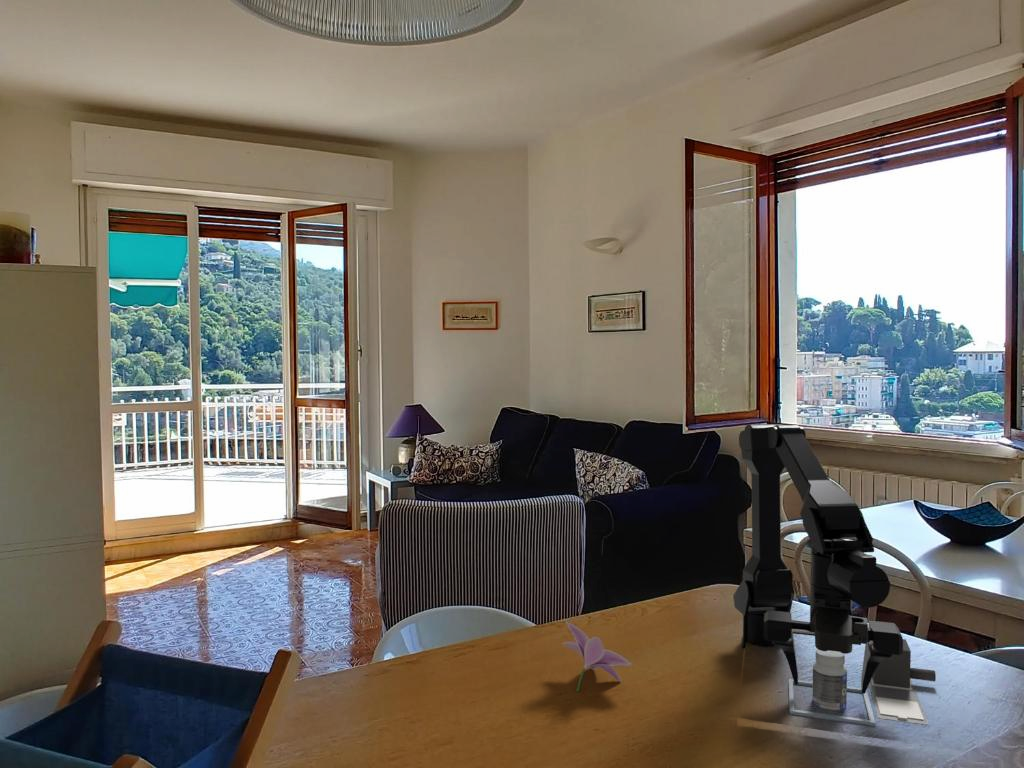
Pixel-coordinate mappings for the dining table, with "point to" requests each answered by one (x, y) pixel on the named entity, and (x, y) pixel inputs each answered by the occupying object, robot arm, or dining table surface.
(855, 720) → the grey square frame
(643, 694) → the dining table surface
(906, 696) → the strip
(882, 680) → the grey block with peg
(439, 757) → the dining table surface
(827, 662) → the pill bottle
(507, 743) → the dining table surface
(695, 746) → the dining table surface
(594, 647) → the lily
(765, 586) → the robot arm
